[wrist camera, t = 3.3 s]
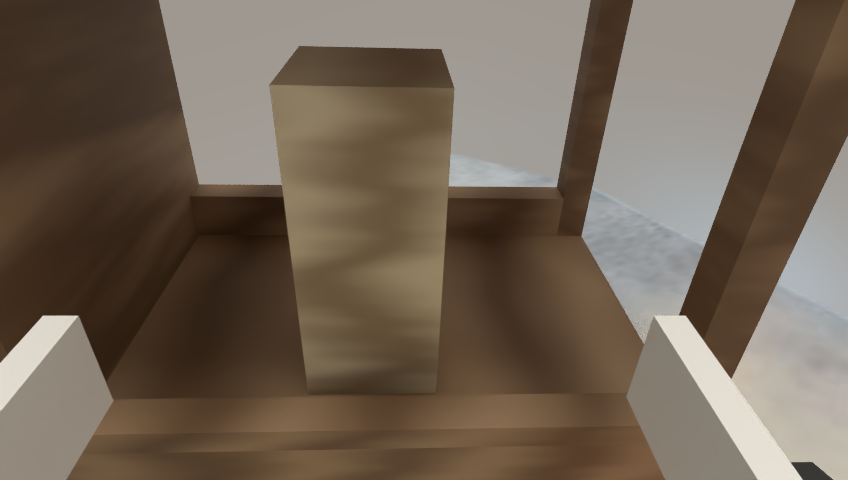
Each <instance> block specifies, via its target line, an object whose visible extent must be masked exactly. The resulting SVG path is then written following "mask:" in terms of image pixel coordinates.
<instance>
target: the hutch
mask: <svg viewBox="0 0 848 480" xmlns="http://www.w3.org/2000/svg"><path fill="white" fill-rule="evenodd" d="M632 3H633V0H591V2H590V8H589V13H588V19H587V24H586V31H585V36H584V41H583V46H582V52H581V58H580V63H579V69H578V74H577V80H576V85H575V91H574V96H573V102H572V107H571V113H570V118H569V124H568V130H567V135H566V140H565V146H564V151H563V157H562V162H561V168H560V173H559V179H558V184H557V187H448V202H447V218H446V235H445V252H444V268H443V285H442V302H441V318H440V335H439V352H438V368H437V385H436V393H401V394H322V395H308V389H307V381H306V373H305V365H304V357H303V349H302V341H301V333H300V325H299V317H298V309H297V301H296V293H295V285H294V277H293V269H292V261H291V253H290V245H289V237H288V229H287V221H286V213H285V205H284V197H283V189H282V185H199V184H198V179H197V174H196V170H195V165H194V161H193V157H192V151H191V147H190V143H189V138H188V133H187V128H186V124H185V119H184V115H183V110H182V106H181V101H180V97H179V92H178V87H177V83H176V78H175V73H174V69H173V64H172V60H171V55H170V50H169V46H168V41H167V37H166V32H165V28H164V23H163V18H162V14H161V9H160V4H159V0H0V363H1V362H2V361H3V359H4V358H5V357H6V356H7V355H8V354H9V353H10V352H11V351H12V350H13V348H14V347H15V346H16V345H17V344H18V343H19V342H20V341H21V340H22V338H23V337H24V336H25V335H26V334H27V333H28V332H29V331H30V330H31V328H32V327H33V326H34V325H35V324H36V323H37V322H38V321H39V320H40V319H41V317H42V316H79V318H80V321H81V323H82V325H83V328H84V330H85V333H86V335H87V338H88V340H89V343H90V345H91V347H92V350H93V352H94V355H95V357H96V360H97V362H98V364H99V367H100V369H101V372H102V374H103V377H104V379H105V381H106V384H107V386H108V389H109V391H110V394H111V396H112V398H113V402H112V404H111V406H110V407H109V409H108V411H107V412H106V414H105V416H104V417H103V419H102V421H101V422H100V424H99V426H98V427H97V429H96V431H95V432H94V434H93V436H92V437H91V439H90V441H89V442H88V444H87V446H86V448H85V449H84V451H83V453H82V454H81V456H80V458H79V459H78V461H77V463H76V464H75V466H74V468H73V469H72V471H71V473H70V474H69V476H68V478H67V479H66V480H665V478H664V476H663V474H662V472H661V470H660V468H659V466H658V463H657V461H656V459H655V457H654V455H653V453H652V451H651V448H650V446H649V444H648V442H647V440H646V438H645V436H644V434H643V431H642V429H641V427H640V425H639V423H638V421H637V419H636V416H635V414H634V412H633V410H632V408H631V406H630V404H629V402H628V399H627V394H628V391H629V388H630V385H631V382H632V379H633V376H634V373H635V370H636V367H637V364H638V361H639V358H640V355H641V352H642V349H643V346H644V344H643V342H642V341H641V339H640V337H639V335H638V334H637V332H636V330H635V328H634V327H633V325H632V323H631V321H630V320H629V318H628V316H627V315H626V313H625V311H624V309H623V308H622V306H621V304H620V302H619V301H618V299H617V297H616V296H615V294H614V292H613V290H612V289H611V287H610V285H609V283H608V282H607V280H606V278H605V276H604V275H603V273H602V271H601V270H600V268H599V266H598V264H597V263H596V261H595V259H594V257H593V256H592V254H591V252H590V250H589V249H588V247H587V245H586V244H585V242H584V240H583V238H582V237H581V235H582V230H583V226H584V221H585V217H586V212H587V208H588V203H589V199H590V194H591V190H592V185H593V181H594V176H595V171H596V167H597V162H598V157H599V153H600V149H601V144H602V140H603V135H604V131H605V126H606V121H607V117H608V112H609V108H610V103H611V99H612V94H613V89H614V85H615V81H616V76H617V71H618V67H619V62H620V58H621V53H622V49H623V44H624V40H625V35H626V30H627V26H628V22H629V17H630V13H631V8H632ZM847 136H848V0H796V1H795V4H794V6H793V9H792V12H791V15H790V17H789V20H788V23H787V25H786V28H785V31H784V33H783V36H782V39H781V42H780V44H779V47H778V50H777V52H776V55H775V58H774V60H773V63H772V66H771V68H770V71H769V74H768V77H767V79H766V82H765V85H764V87H763V90H762V93H761V96H760V98H759V101H758V104H757V106H756V109H755V112H754V114H753V117H752V120H751V123H750V125H749V128H748V131H747V133H746V136H745V139H744V141H743V144H742V147H741V150H740V152H739V155H738V158H737V160H736V163H735V166H734V168H733V171H732V174H731V177H730V179H729V182H728V185H727V187H726V190H725V193H724V195H723V198H722V201H721V204H720V206H719V209H718V212H717V214H716V217H715V220H714V222H713V225H712V228H711V231H710V233H709V236H708V239H707V241H706V244H705V247H704V249H703V252H702V255H701V258H700V260H699V263H698V266H697V268H696V271H695V274H694V276H693V279H692V282H691V285H690V287H689V290H688V293H687V295H686V298H685V301H684V303H683V306H682V309H681V312H680V314H679V316H686V317H687V318H688V320H689V321H690V322H691V324H692V325H693V327H694V328H695V329H696V331H697V332H698V334H699V335H700V336H701V338H702V339H703V341H704V342H705V343H706V345H707V346H708V348H709V349H710V350H711V352H712V353H713V355H714V356H715V357H716V359H717V360H718V362H719V363H720V364H721V366H722V367H723V369H724V370H725V371H726V373H727V374H728V376H729V377H730V378H731V379H732V376H733V374H734V372H735V370H736V368H737V366H738V364H739V362H740V360H741V358H742V356H743V353H744V351H745V349H746V347H747V345H748V343H749V341H750V339H751V337H752V335H753V333H754V330H755V328H756V326H757V324H758V322H759V320H760V318H761V316H762V314H763V312H764V309H765V307H766V305H767V303H768V301H769V299H770V297H771V295H772V293H773V291H774V289H775V286H776V284H777V282H778V280H779V278H780V276H781V274H782V272H783V269H784V267H785V265H786V263H787V261H788V259H789V257H790V255H791V253H792V251H793V249H794V247H795V245H796V242H797V240H798V238H799V236H800V234H801V232H802V230H803V228H804V226H805V224H806V221H807V219H808V217H809V215H810V213H811V211H812V209H813V207H814V205H815V203H816V200H817V199H818V196H819V194H820V192H821V190H822V188H823V186H824V184H825V182H826V180H827V177H828V176H829V173H830V171H831V169H832V167H833V165H834V163H835V161H836V159H837V157H838V155H839V152H840V150H841V148H842V146H843V144H844V142H845V140H846V138H847Z"/></svg>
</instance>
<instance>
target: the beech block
mask: <svg viewBox="0 0 848 480" xmlns="http://www.w3.org/2000/svg"><path fill="white" fill-rule="evenodd" d="M270 93H271V101H272V110H273V118H274V125H275V134H276V141H277V149H278V157H279V165H280V172H281V181H282V189H283V197H284V205H285V213H286V221H287V229H288V237H289V245H290V253H291V261H292V269H293V277H294V285H295V293H296V301H297V309H298V317H299V325H300V333H301V341H302V349H303V357H304V365H305V373H306V381H307V389H308V395H322V394H401V393H436V385H437V368H438V352H439V335H440V318H441V302H442V285H443V268H444V252H445V235H446V218H447V202H448V185H449V168H450V152H451V134H452V117H453V101H454V86H453V83H452V80H451V77H450V74H449V71H448V68H447V65H446V62H445V59H444V56H443V53H442V50H441V49H404V48H358V47H355V48H354V47H311V46H299V48H298V49H297V50H296V51H295V53H294V54H293V55H292V56H291V58H290V59H289V60H288V62H287V63H286V64H285V65H284V67H283V68H282V69H281V71H280V72H279V73H278V75H277V76H276V77H275V78H274V80H273V81H272V82H271V84H270Z"/></svg>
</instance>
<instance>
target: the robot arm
mask: <svg viewBox="0 0 848 480" xmlns="http://www.w3.org/2000/svg"><path fill="white" fill-rule="evenodd" d="M627 399H628V402H629V404H630V406H631V408H632V410H633V412H634V414H635V416H636V419H637V421H638V423H639V425H640V427H641V429H642V431H643V434H644V436H645V438H646V440H647V442H648V444H649V446H650V448H651V451H652V453H653V455H654V457H655V459H656V461H657V463H658V466H659V468H660V470H661V472H662V474H663V476H664V478H665V480H833V479H832V478H830V477H829V476H828V475H827V474H826V473H824V472H823V471H822V470H821V469H820V468H818V467H817V466H816V465H815V464H814V463H813V462H790V461H789V460H788V458H787V457H786V456H785V454H784V453H783V451H782V450H781V449H780V447H779V446H778V444H777V443H776V442H775V440H774V439H773V437H772V436H771V435H770V433H769V432H768V430H767V429H766V428H765V426H764V425H763V423H762V422H761V421H760V419H759V418H758V416H757V415H756V414H755V412H754V411H753V409H752V408H751V407H750V405H749V404H748V402H747V401H746V400H745V398H744V397H743V395H742V394H741V393H740V391H739V390H738V388H737V387H736V385H735V384H734V383H733V381H732V380H731V378H730V377H729V376H728V374H727V373H726V371H725V370H724V369H723V367H722V366H721V364H720V363H719V362H718V360H717V359H716V357H715V356H714V355H713V353H712V352H711V350H710V349H709V348H708V346H707V345H706V343H705V342H704V341H703V339H702V338H701V336H700V335H699V334H698V332H697V331H696V329H695V328H694V327H693V325H692V324H691V322H690V321H689V320H688V318H687V317H686V316H654V317H653V320H652V323H651V326H650V328H649V331H648V334H647V337H646V340H645V343H644V346H643V349H642V352H641V355H640V358H639V361H638V364H637V367H636V370H635V373H634V376H633V379H632V382H631V385H630V388H629V391H628V394H627ZM112 402H113V398H112V396H111V394H110V391H109V389H108V386H107V384H106V381H105V379H104V377H103V374H102V372H101V369H100V367H99V364H98V362H97V360H96V357H95V355H94V352H93V350H92V347H91V345H90V343H89V340H88V338H87V335H86V333H85V330H84V328H83V325H82V323H81V321H80V318H79V316H42V317H41V319H40V320H39V321H38V322H37V323H36V324H35V325H34V326H33V327H32V328H31V330H30V331H29V332H28V333H27V334H26V335H25V336H24V337H23V338H22V340H21V341H20V342H19V343H18V344H17V345H16V346H15V347H14V348H13V350H12V351H11V352H10V353H9V354H8V355H7V356H6V357H5V358H4V359H3V361H2V362H1V363H0V480H66V479H67V478H68V476H69V474H70V473H71V471H72V469H73V468H74V466H75V464H76V463H77V461H78V459H79V458H80V456H81V454H82V453H83V451H84V449H85V448H86V446H87V444H88V442H89V441H90V439H91V437H92V436H93V434H94V432H95V431H96V429H97V427H98V426H99V424H100V422H101V421H102V419H103V417H104V416H105V414H106V412H107V411H108V409H109V407H110V406H111V404H112Z"/></svg>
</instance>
